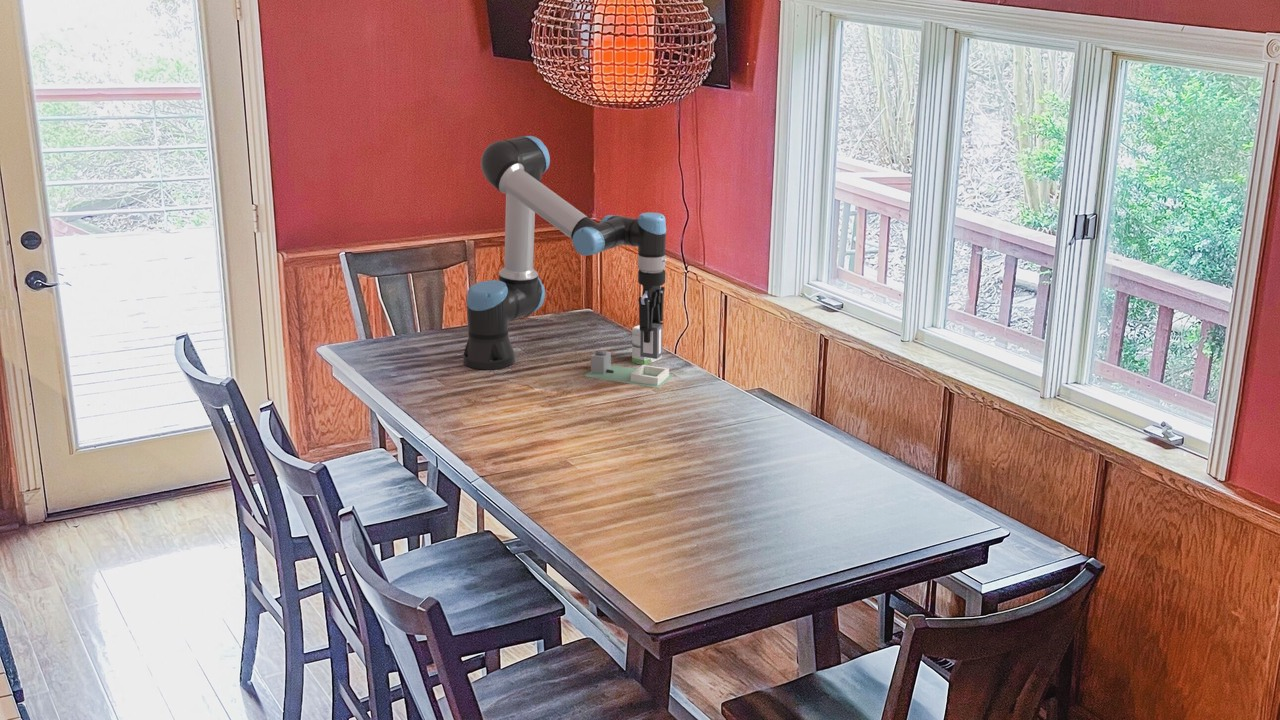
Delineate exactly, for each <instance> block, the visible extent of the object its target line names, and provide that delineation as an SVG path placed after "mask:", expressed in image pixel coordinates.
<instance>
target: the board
mask: <svg viewBox="0 0 1280 720" xmlns="http://www.w3.org/2000/svg"><path fill="white" fill-rule="evenodd" d="M637 369H638V368H634V367H628V366H622V365H621V366H620V365H614V364H611V369H610V370H613V371H614V372H613V373H610V372H606V373H604V374H601V373H594V372H591V370H590V371H588V372H587V373H586V374H584V375H583V377H586V378H592V379H598V380H605V381H612V382H617V383H618V382H619V383H624V384H630V385H635V386H642V387H648V388H655V389H659V388H661V386H663V385H664V384H665V383H666V382H668V381H669V380H670V379H671V378H672V377H673V376H674V374H673V373H669V376H668V377H667V378H666V379H665V380H664V381H662V382H661V383H660V384H659V385H658V386H657V385H651V384H644V383H638V382H632V381H631V374H632V373H633V372H634V371H635V370H637ZM643 375H647V376H654V377H657V376H658V375H653V374H646V373H644V374H643Z"/></svg>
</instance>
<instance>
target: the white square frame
mask: <svg viewBox="0 0 1280 720" xmlns="http://www.w3.org/2000/svg"><path fill="white" fill-rule="evenodd" d="M636 369H637V370H635V371H634V372H633V373H632V374H631V381H632V382H638V383H644V384H651V385H657V386H658V385H659V384H660V383H661V382H662V381H664V380H665V379H666V378H667V377H668V376H669V374H670V368H667V367H659V366H653V365H649V364H646V365H641V366H639V367H638V368H636ZM644 373H646V374H653V375H658V376H657V377H654V376H647V375H643V374H644Z"/></svg>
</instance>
